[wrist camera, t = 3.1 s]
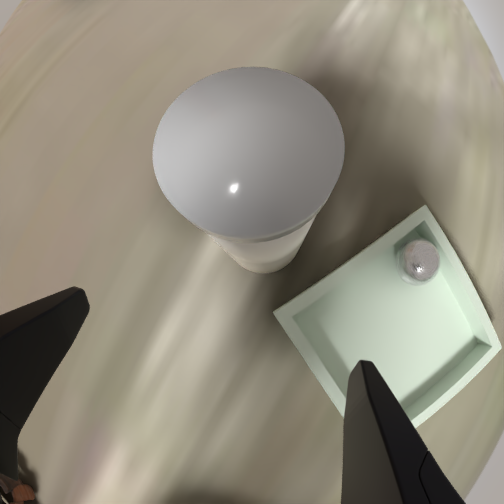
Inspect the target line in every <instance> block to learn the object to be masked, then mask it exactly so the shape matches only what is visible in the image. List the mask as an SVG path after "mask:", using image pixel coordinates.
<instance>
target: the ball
mask: <svg viewBox="0 0 504 504" xmlns="http://www.w3.org/2000/svg"><path fill="white" fill-rule="evenodd" d="M395 265H396V270H397V272H398V274H399V276H400V277H401V279H402V280H403V281H405V282H406V283H408V284H410V285H413V286H422V285H425V284H428V283H429V282H431V281H432V280H433V279H434V278H435V277H436V275H437V273H438V271H439V268H440V255H439V252H438V250H437V248H436V247H435V246H434V245H433V244H432V243H431V242H430V241H428V240H426V239H423V238H413V239H410V240H408V241H406V242H405V243H403V244H402V246H401V247H400V248H399V250H398V252H397V255H396V259H395Z"/></svg>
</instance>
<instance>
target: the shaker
mask: <svg viewBox="0 0 504 504" xmlns="http://www.w3.org/2000/svg"><path fill="white" fill-rule="evenodd" d="M344 155H345V142H344V134H343V130H342V127H341V123H340V121H339V119H338V116H337V114H336V112H335V111H334V109H333V108H332V106H331V104H330V103H329V102H328V101H327V99H326V98H325V97H324V96H323V95H322V94H321V93H320V92H319V91H318V90H317V89H315V88H314V87H313V86H311V85H310V84H309V83H307V82H306V81H304V80H302V79H300V78H298V77H296V76H294V75H292V74H289V73H287V72H283V71H280V70H276V69H271V68H265V67H241V68H234V69H229V70H225V71H221V72H218V73H215V74H212V75H210V76H208V77H206V78H204V79H202V80H200V81H198V82H196V83H195V84H193V85H192V86H190V87H189V88H188V89H186V90H185V91H184V92H183V93H182V94H180V95H179V97H178V98H177V99H176V100H175V101H174V102H173V103H172V104H171V106H170V107H169V108H168V109H167V111H166V113H165V114H164V116H163V118H162V119H161V122H160V124H159V126H158V128H157V132H156V135H155V139H154V145H153V165H154V171H155V175H156V178H157V181H158V183H159V185H160V187H161V190H162V192H163V193H164V195H165V196H166V198H167V199H168V200H169V202H170V203H171V204H172V205H173V206H174V207H175V208H176V209H177V210H178V211H179V212H180V213H181V214H182V215H183V216H184V217H185V218H186V219H187V220H189V221H190V222H191V223H192V224H193V225H195V226H196V227H197V228H199V229H200V230H202V231H204V232H206V233H207V234H208V235H209V236H210V237H211V238H212V239H213V240H214V241H215V242H216V243H217V244H218V245H219V246H220V247H221V248H222V249H223V250H224V251H225V252H227V253H228V254H229V255H230V256H231V257H232V258H233V259H234V260H235V261H236V262H237V263H238V264H239V265H240V266H242V267H243V268H245V269H247V270H249V271H251V272H255V273H272V272H276V271H278V270H280V269H282V268H284V267H285V266H287V265H288V264H289V263H290V262H291V261H292V260H293V259H294V257H295V256H296V254H297V252H298V250H299V248H300V246H301V244H302V242H303V240H304V238H305V236H306V235H307V233H308V231H309V229H310V227H311V225H312V223H313V221H314V219H315V217H316V215H317V213H318V212H319V211H320V210H321V208H322V207H323V206H324V204H325V203H326V201H327V199H328V198H329V196H330V194H331V192H332V190H333V188H334V186H335V184H336V182H337V181H338V178H339V176H340V173H341V170H342V167H343V161H344Z"/></svg>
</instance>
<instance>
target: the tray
mask: <svg viewBox="0 0 504 504" xmlns="http://www.w3.org/2000/svg"><path fill="white" fill-rule="evenodd" d="M413 238H423V239H426V240H428V241H430V242H431V243H432V244H433V245H434V246H435V247H436V248H437V250H438V252H439V255H440V268H439V271H438V273H437V275H436V277H435V278H434V279H433V280H432V281H431V282H429V283H428V284H425V285H422V286H413V285H410V284H408V283H406V282H405V281H403V280H402V279H401V277H400V276H399V274H398V272H397V270H396V265H395V259H396V255H397V252H398V250H399V248H400V247H401V246H402V244H403V243H405V242H406V241H408V240H410V239H413ZM273 314H274V315H275V317H276V318H277V320H278V321H279V323H280V324H281V326H282V327H283V329H284V330H285V332H286V333H287V335H288V336H289V338H290V339H291V341H292V342H293V344H294V345H295V347H296V348H297V350H298V351H299V353H300V354H301V356H302V357H303V359H304V360H305V362H306V363H307V365H308V366H309V368H310V369H311V371H312V372H313V374H314V375H315V377H316V378H317V380H318V381H319V383H320V384H321V386H322V387H323V389H324V390H325V391H326V393H327V394H328V396H329V397H330V399H331V400H332V402H333V403H334V405H335V406H336V408H337V409H338V411H339V412H340V414H341V415H342V416H343V418H344V413H345V405H346V396H347V387H348V379H349V375H350V373H351V372H352V370H353V369H354V367H355V366H356V364H357V363H358V361H359V360H368V361H372V362H373V363H374V365H375V366H376V368H377V369H378V371H379V372H380V374H381V375H382V377H383V378H384V380H385V381H386V383H387V385H388V386H389V388H390V389H391V391H392V392H393V394H394V395H395V397H396V399H397V400H398V402H399V403H400V405H401V406H402V408H403V410H404V411H405V413H406V414H407V416H408V418H409V419H410V421H411V422H412V424H413V426H414V427H415V428H416V427H418V426H419V425H420V424H422V423H423V422H424V421H425V420H427V419H428V418H429V417H430V416H431V415H433V414H434V413H435V412H436V411H437V410H439V409H440V408H441V407H442V406H443V405H444V404H446V403H447V402H448V401H449V400H450V399H451V398H452V397H454V396H455V395H456V394H457V393H458V392H459V391H460V390H461V389H462V388H463V387H464V386H465V385H466V384H467V383H469V382H470V381H471V380H472V379H473V378H474V377H475V376H476V375H477V374H478V373H479V372H480V371H481V370H482V369H483V368H484V367H485V365H486V364H487V363H488V362H489V361H490V360H491V359H492V358H493V357H494V356H495V355H496V354H497V353H498V352H499V350H500V349H501V348H502V347H501V344H500V342H499V339H498V337H497V335H496V332H495V330H494V328H493V325H492V323H491V321H490V319H489V316H488V314H487V312H486V310H485V308H484V306H483V304H482V302H481V300H480V298H479V295H478V293H477V291H476V290H475V288H474V286H473V284H472V282H471V280H470V278H469V276H468V274H467V272H466V270H465V269H464V267H463V265H462V263H461V261H460V260H459V258H458V256H457V254H456V253H455V251H454V249H453V247H452V246H451V244H450V242H449V241H448V239H447V237H446V236H445V234H444V232H443V231H442V229H441V228H440V226H439V224H438V223H437V221H436V220H435V218H434V217H433V215H432V214H431V212H430V211H429V209H428V208H427V206H426V205H424V206H422V207H421V208H419V209H418V210H416V211H415V212H413V213H412V214H410V215H409V216H408V217H406V218H405V219H404V220H402V221H401V222H400V223H398V224H397V225H396V226H394V227H393V228H392V229H390V230H389V231H388V232H386V233H385V234H384V235H382V236H381V237H380V238H378V239H377V240H376V241H374V242H373V243H371V244H370V245H369V246H367V247H366V248H365V249H363V250H362V251H360V252H359V253H358V254H356V255H355V256H353V257H352V258H351V259H349V260H348V261H346V262H345V263H344V264H342V265H341V266H339V267H338V268H337V269H335V270H334V271H332V272H331V273H329V274H328V275H326V276H325V277H324V278H322V279H321V280H319V281H318V282H316V283H315V284H313V285H312V286H310V287H309V288H308V289H306V290H305V291H303V292H302V293H300V294H299V295H297V296H296V297H294V298H293V299H291V300H290V301H288V302H287V303H285V304H284V305H282V306H281V307H279V308H278V309H276V310H275V311H273Z"/></svg>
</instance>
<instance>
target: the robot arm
mask: <svg viewBox="0 0 504 504" xmlns="http://www.w3.org/2000/svg"><path fill="white" fill-rule="evenodd" d="M89 309H90V305H89V302H88V299H87V296H86V294H85V291H84V290H83V289H81V288H78V287H71V288H68V289H65V290H63V291H60V292H58V293H55V294H53V295H50V296H47V297H45V298H42V299H40V300H37V301H35V302H32V303H30V304H27V305H25V306H22V307H20V308H17V309H15V310H12V311H10V312H7V313H5V314H2V315H0V473H1V474H3V475H5V476H7V477H9V478H11V479H13V480H15V481H18V449H17V443H18V437H19V434H20V431H21V429H22V428H23V426H24V424H25V422H26V420H27V419H28V417H29V415H30V413H31V411H32V410H33V408H34V406H35V404H36V403H37V401H38V399H39V397H40V396H41V394H42V392H43V391H44V389H45V387H46V386H47V384H48V382H49V381H50V379H51V377H52V376H53V374H54V372H55V371H56V369H57V368H58V366H59V364H60V363H61V361H62V360H63V358H64V357H65V355H66V353H67V352H68V350H69V349H70V347H71V345H72V344H73V342H74V340H75V338H76V336H77V334H78V332H79V330H80V328H81V326H82V325H83V323H84V321H85V319H86V317H87V315H88V313H89ZM2 502H3V500H2V497H1V494H0V504H2ZM341 504H466V503H465V502H464V501H463V499H462V498H461V497H460V495H459V494H458V493H457V491H456V490H455V489H454V487H453V486H452V485H451V483H450V482H449V480H448V479H447V477H446V476H445V475H444V473H443V472H442V470H441V469H440V467H439V465H438V464H437V462H436V461H435V459H434V457H433V456H432V454H431V453H430V451H428V448H427V447H426V445H425V443H424V442H423V440H422V438H421V437H420V435H419V434H418V432H417V430H416V429H415V427H414V426H413V424H412V422H411V421H410V419H409V418H408V416H407V414H406V413H405V411H404V410H403V408H402V406H401V405H400V403H399V402H398V400H397V399H396V397H395V395H394V394H393V392H392V391H391V389H390V388H389V386H388V385H387V383H386V381H385V380H384V378H383V377H382V375H381V374H380V372H379V371H378V369H377V368H376V366H375V365H374V363H373V362H372V361H368V360H359V361H358V363H357V364H356V366H355V367H354V369H353V370H352V372H351V373H350V375H349V379H348V387H347V396H346V405H345V413H344V426H343V474H342V495H341Z"/></svg>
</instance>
